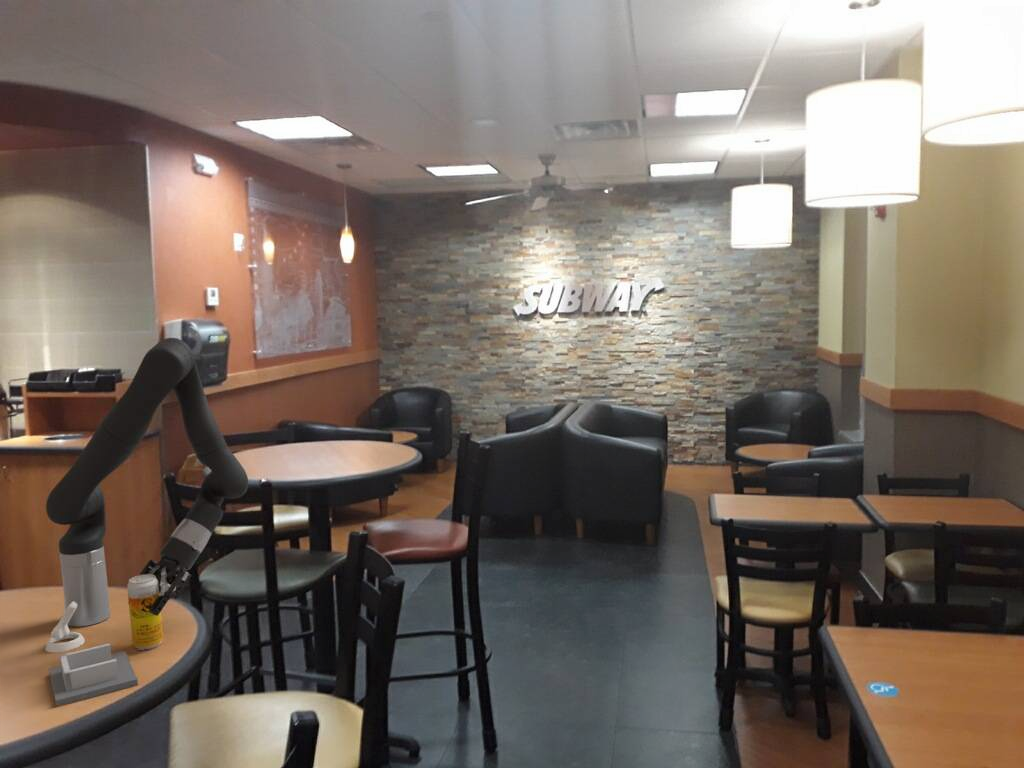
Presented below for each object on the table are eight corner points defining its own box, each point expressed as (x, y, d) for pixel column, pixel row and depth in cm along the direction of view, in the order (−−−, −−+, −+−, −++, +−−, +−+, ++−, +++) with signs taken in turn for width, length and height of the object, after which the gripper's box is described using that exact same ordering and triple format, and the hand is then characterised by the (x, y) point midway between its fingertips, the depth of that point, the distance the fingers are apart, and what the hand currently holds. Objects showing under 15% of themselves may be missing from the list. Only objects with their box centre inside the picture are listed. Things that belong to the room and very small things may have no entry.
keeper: (49, 675, 166) (47, 652, 166) (125, 656, 174) (123, 634, 173) (56, 706, 153) (53, 682, 152) (137, 684, 160) (135, 661, 160)
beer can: (138, 653, 175) (131, 585, 173) (129, 645, 179) (122, 578, 177) (167, 645, 179) (161, 578, 177) (158, 636, 183) (152, 571, 181)
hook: (92, 628, 176) (60, 614, 174) (67, 669, 179) (36, 656, 177) (105, 608, 183) (74, 594, 181) (81, 648, 186) (51, 634, 184)
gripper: (156, 531, 187) (112, 595, 179) (192, 540, 178) (146, 608, 171) (180, 547, 192) (137, 611, 184) (216, 557, 183) (172, 624, 175)
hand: (142, 609), depth 177 cm, fingers open, 8 cm apart
